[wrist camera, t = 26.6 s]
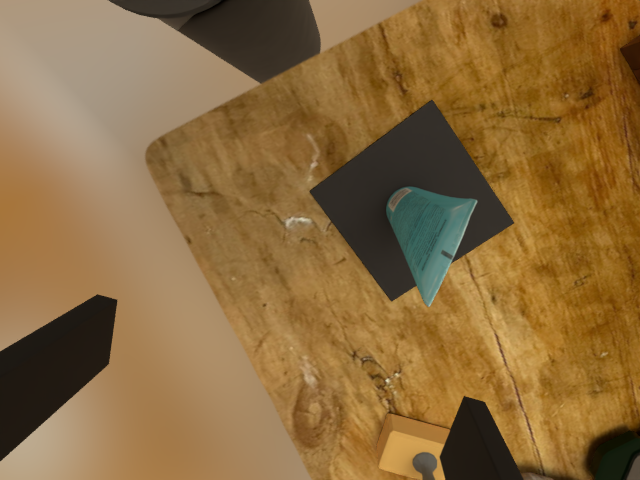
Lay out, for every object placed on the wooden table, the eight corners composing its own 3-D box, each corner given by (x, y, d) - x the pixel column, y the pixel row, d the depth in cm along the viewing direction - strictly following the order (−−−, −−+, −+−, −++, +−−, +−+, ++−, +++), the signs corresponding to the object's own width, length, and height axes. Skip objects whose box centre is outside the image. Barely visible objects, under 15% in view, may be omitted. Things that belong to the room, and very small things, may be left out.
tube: (419, 244, 44) (466, 317, 26) (377, 233, 45) (394, 298, 26) (440, 180, 43) (507, 208, 24) (397, 168, 43) (429, 188, 24)
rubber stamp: (464, 431, 50) (497, 518, 39) (449, 467, 52) (477, 562, 40) (388, 411, 50) (398, 491, 39) (375, 447, 52) (382, 535, 40)
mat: (309, 190, 45) (309, 191, 44) (431, 100, 41) (432, 99, 41) (391, 299, 47) (391, 301, 46) (512, 222, 44) (514, 223, 43)
